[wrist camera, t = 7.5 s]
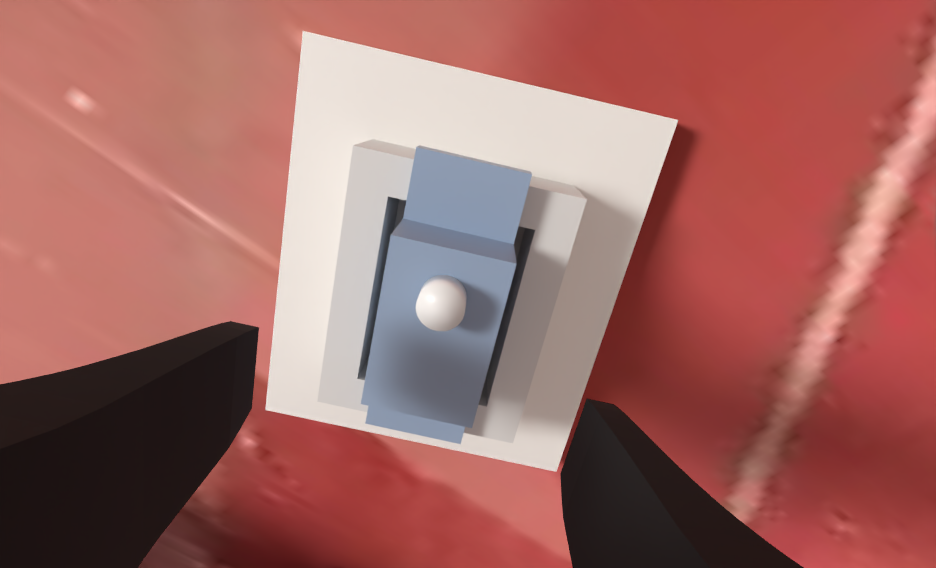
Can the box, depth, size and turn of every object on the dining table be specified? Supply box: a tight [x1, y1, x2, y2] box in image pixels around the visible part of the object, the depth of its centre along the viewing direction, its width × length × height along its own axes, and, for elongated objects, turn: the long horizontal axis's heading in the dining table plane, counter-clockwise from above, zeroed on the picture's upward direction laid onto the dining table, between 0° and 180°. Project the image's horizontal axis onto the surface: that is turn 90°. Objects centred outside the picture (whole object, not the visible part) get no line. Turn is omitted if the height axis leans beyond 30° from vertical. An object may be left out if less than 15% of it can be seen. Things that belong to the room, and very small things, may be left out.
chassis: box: [266, 31, 678, 472], centre depth 18 cm, size 14×12×4 cm
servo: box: [361, 145, 532, 444], centre depth 16 cm, size 9×3×6 cm, turn 167°
